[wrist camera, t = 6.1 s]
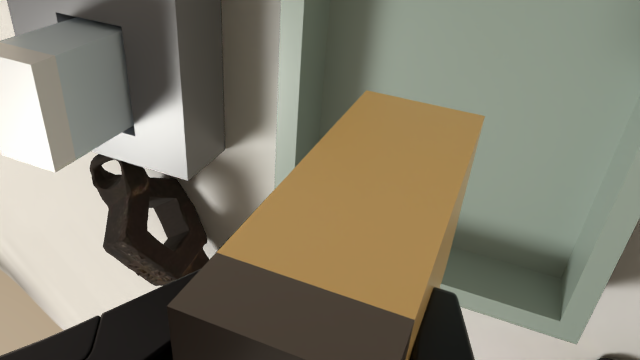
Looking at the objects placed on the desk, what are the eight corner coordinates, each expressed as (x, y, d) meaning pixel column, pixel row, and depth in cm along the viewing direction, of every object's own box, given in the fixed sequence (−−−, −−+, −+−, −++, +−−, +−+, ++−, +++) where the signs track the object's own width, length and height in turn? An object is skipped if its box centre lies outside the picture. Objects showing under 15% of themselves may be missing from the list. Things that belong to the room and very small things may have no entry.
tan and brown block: (485, 115, 11) (390, 392, 5) (445, 267, 13) (348, 581, 7) (366, 90, 11) (166, 306, 6) (348, 237, 13) (189, 501, 8)
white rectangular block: (165, 14, 22) (30, 64, 17) (172, 102, 24) (54, 172, 19) (116, 4, 23) (-29, 49, 17) (127, 90, 25) (1, 155, 20)
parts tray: (799, -200, 13) (854, -214, 10) (575, 290, 21) (576, 344, 19) (330, -223, 16) (288, -239, 14) (301, 208, 25) (272, 245, 22)
